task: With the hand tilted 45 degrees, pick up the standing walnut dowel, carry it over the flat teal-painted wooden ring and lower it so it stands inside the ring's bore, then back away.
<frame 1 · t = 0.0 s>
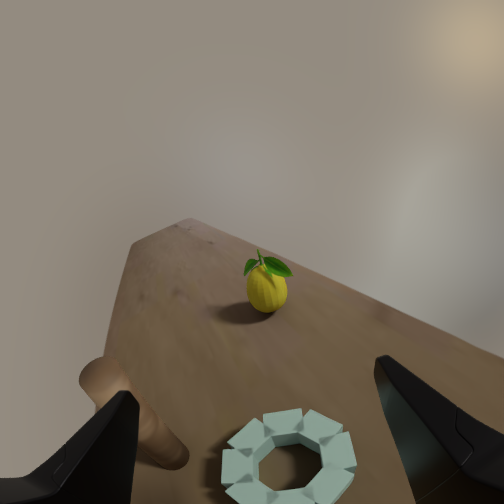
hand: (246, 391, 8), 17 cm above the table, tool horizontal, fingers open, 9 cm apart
dowel: (173, 456, 20), on the table
ring: (290, 469, 18), on the table
lemon: (272, 312, 40), on the table
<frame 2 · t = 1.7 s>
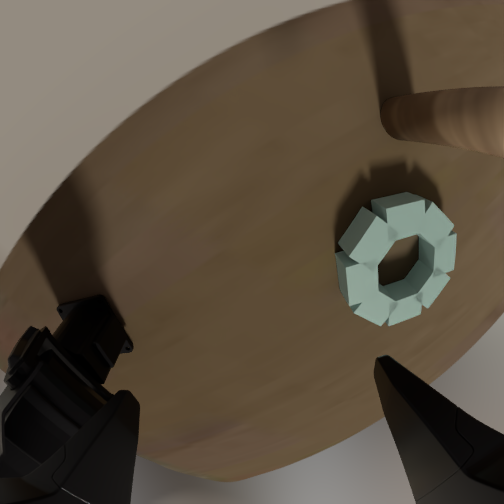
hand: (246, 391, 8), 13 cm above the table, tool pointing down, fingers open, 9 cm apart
dowel: (399, 118, 17), on the table
ring: (393, 255, 21), on the table
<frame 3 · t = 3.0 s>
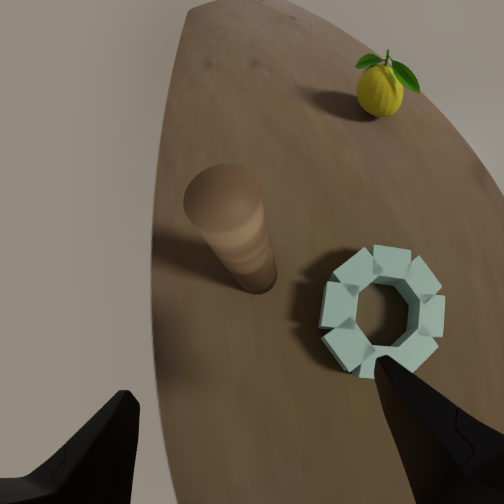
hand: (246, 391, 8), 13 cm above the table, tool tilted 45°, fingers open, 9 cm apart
dowel: (257, 275, 24), on the table
ring: (379, 315, 21), on the table
lemon: (375, 115, 29), on the table
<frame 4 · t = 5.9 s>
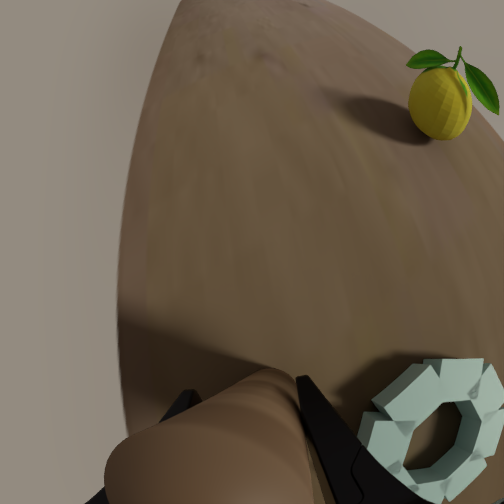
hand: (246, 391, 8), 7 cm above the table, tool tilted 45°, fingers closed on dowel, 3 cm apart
dowel: (269, 395, 15), on the table, touching gripper
ring: (428, 434, 12), on the table
lemon: (428, 135, 19), on the table
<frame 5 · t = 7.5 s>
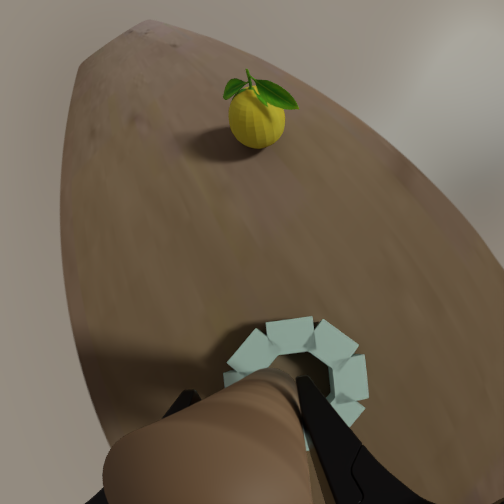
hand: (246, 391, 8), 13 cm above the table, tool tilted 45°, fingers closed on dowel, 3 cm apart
dowel: (269, 395, 15), point 6 cm above the table, touching gripper
ring: (296, 384, 20), on the table
lemon: (263, 143, 29), on the table
when the fingers open (8 cm above the table, at t = 9.1 s): dowel drops 1 cm, resting in ring.
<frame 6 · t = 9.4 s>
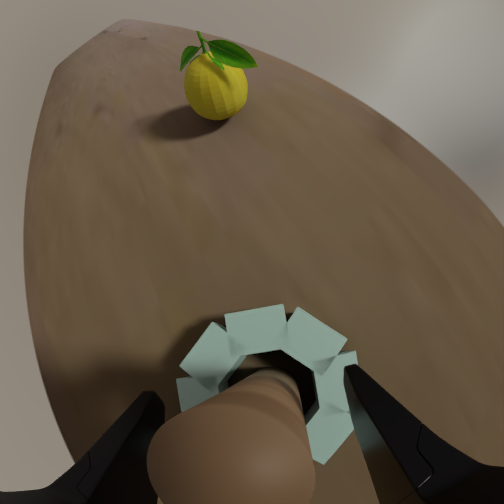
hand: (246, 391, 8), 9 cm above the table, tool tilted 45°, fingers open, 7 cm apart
dowel: (271, 392, 16), resting in ring
ring: (271, 391, 16), on the table
lemon: (227, 117, 25), on the table
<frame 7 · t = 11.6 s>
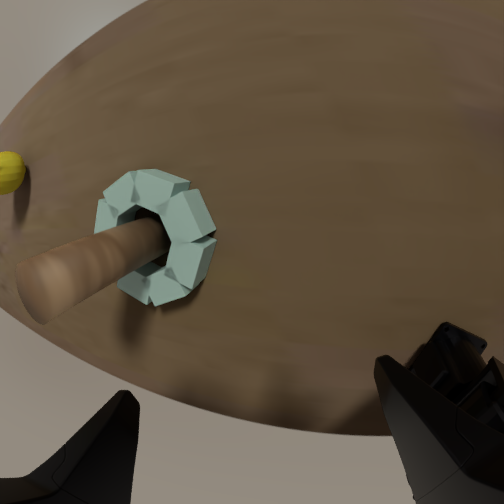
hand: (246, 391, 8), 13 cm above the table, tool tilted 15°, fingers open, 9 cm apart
dowel: (157, 234, 22), resting in ring
ring: (157, 234, 22), on the table
lemon: (27, 168, 26), on the table
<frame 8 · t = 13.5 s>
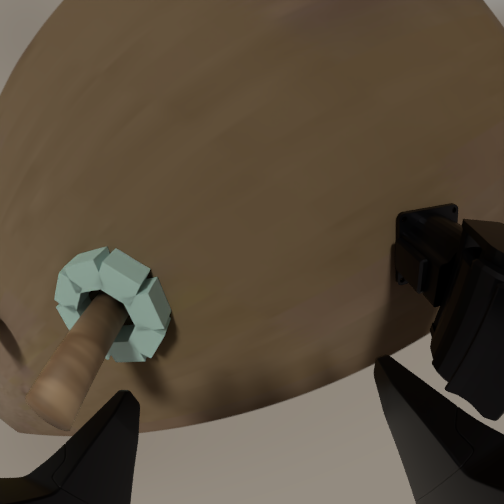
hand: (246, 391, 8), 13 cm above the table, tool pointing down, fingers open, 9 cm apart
dowel: (115, 301, 23), resting in ring
ring: (114, 301, 23), on the table
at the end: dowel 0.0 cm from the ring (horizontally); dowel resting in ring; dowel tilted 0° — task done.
